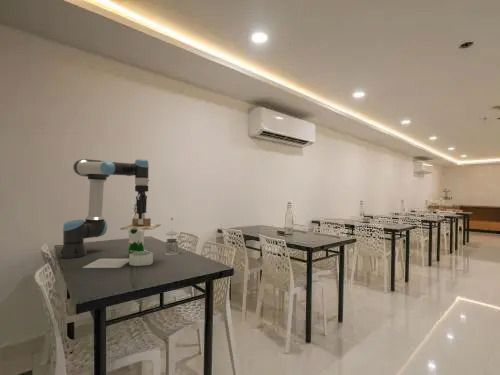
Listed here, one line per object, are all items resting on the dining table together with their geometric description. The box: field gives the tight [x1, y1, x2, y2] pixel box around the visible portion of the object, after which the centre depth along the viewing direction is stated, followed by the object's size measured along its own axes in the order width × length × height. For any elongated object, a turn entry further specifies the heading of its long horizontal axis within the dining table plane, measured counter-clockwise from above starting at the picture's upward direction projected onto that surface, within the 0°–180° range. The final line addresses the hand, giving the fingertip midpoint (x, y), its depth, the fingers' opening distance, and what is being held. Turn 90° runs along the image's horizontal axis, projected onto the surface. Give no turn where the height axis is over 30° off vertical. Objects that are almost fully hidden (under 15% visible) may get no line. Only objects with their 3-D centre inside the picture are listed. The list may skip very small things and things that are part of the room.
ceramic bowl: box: [128, 250, 154, 267], centre depth 178 cm, size 13×13×6 cm
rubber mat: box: [81, 258, 129, 269], centre depth 177 cm, size 21×21×1 cm
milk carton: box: [127, 230, 145, 255], centre depth 195 cm, size 9×9×20 cm
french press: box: [164, 217, 183, 256], centre depth 205 cm, size 10×12×25 cm
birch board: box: [119, 217, 162, 231], centre depth 178 cm, size 18×18×5 cm
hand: (141, 224), depth 178 cm, fingers closed on birch board, 2 cm apart
